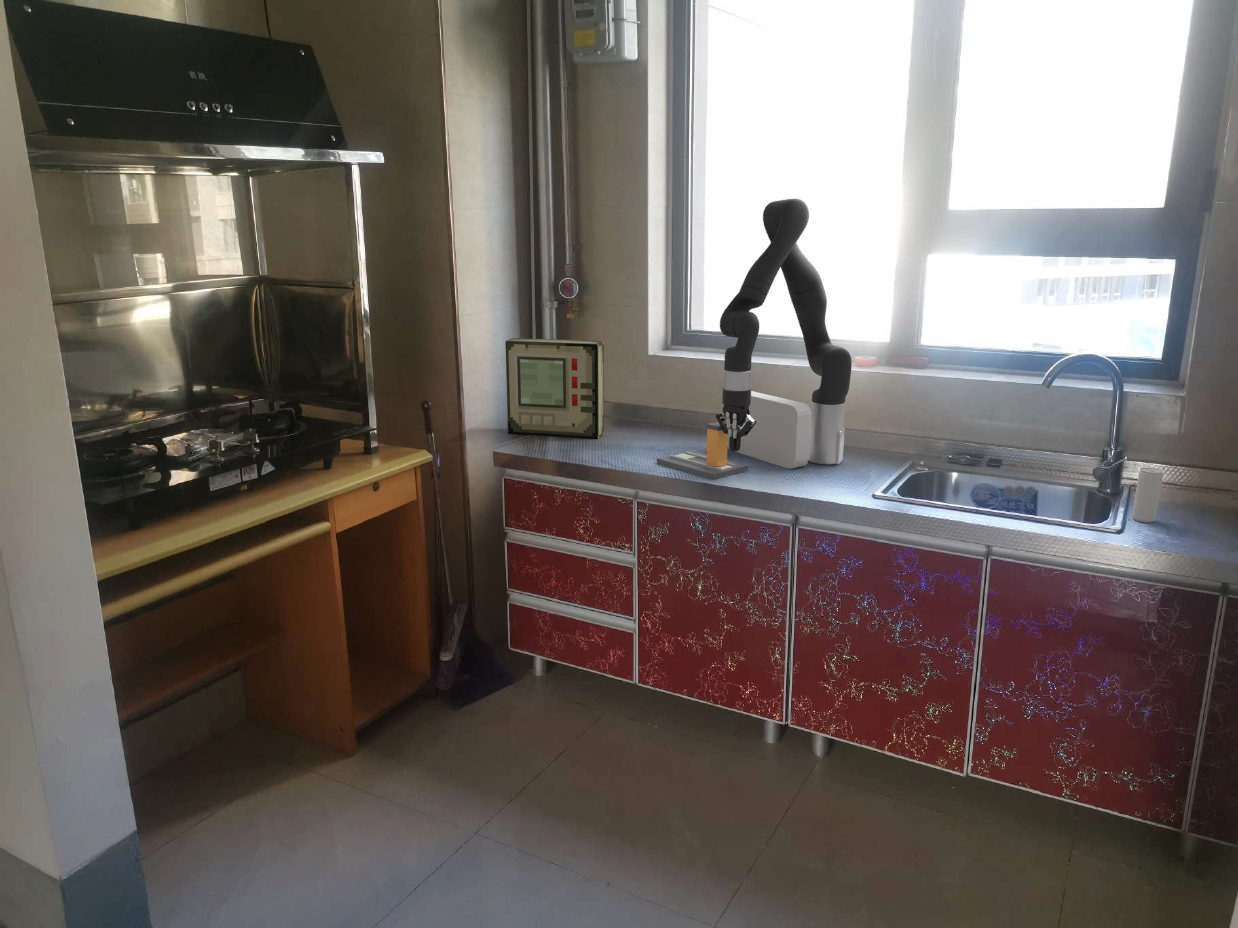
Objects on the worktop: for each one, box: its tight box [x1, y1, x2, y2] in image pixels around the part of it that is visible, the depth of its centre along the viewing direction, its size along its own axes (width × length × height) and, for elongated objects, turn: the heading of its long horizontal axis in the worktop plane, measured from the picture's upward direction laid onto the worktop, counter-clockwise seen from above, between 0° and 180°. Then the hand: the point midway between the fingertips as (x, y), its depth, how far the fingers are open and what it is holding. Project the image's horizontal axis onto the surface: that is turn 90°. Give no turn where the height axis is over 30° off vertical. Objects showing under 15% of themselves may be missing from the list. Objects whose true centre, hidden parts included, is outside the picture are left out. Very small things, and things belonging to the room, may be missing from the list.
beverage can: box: [1131, 467, 1164, 524], centre depth 210 cm, size 5×5×12 cm
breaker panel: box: [656, 450, 749, 480], centre depth 255 cm, size 22×14×2 cm, turn 41°
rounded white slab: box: [728, 390, 811, 470], centre depth 263 cm, size 29×8×18 cm, turn 33°
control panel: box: [505, 337, 605, 440], centre depth 290 cm, size 30×8×30 cm, turn 76°
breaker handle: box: [706, 421, 729, 467], centre depth 249 cm, size 4×4×11 cm
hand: (734, 450), depth 245 cm, fingers closed
